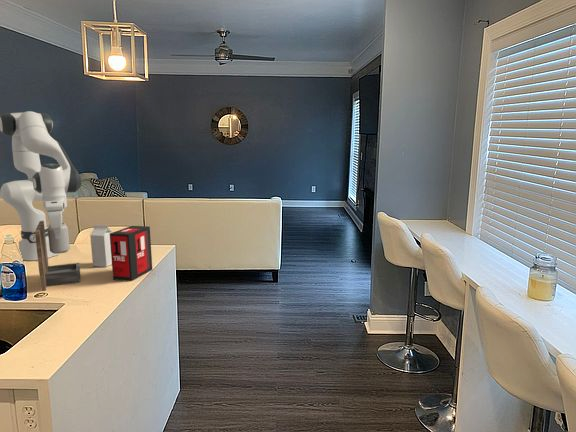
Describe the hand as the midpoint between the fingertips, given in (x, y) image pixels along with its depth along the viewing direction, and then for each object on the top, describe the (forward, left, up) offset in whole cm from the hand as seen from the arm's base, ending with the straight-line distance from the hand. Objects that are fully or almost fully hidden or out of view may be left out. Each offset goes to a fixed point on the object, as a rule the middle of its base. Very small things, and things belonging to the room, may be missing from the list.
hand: (58, 236), depth 191 cm
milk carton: (-17, +17, -19) cm, 31 cm away
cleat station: (0, 0, -19) cm, 19 cm away
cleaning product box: (+5, +28, -19) cm, 34 cm away
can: (0, 0, -7) cm, 7 cm away
